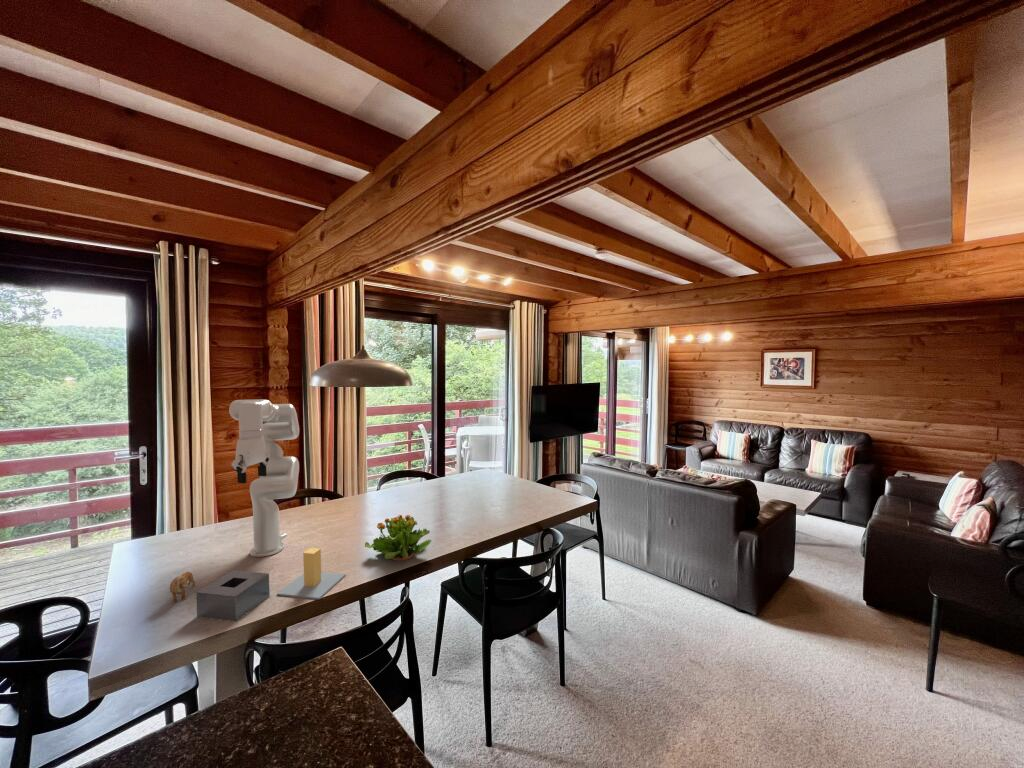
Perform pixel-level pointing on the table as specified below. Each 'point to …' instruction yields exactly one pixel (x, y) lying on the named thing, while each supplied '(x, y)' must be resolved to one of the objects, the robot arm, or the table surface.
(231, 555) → the table surface
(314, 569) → the peg
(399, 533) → the potted flower
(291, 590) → the mat
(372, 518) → the table surface
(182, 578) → the brown animal figure
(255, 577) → the hole block
